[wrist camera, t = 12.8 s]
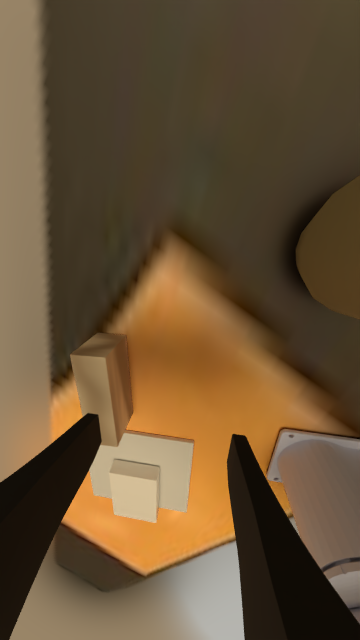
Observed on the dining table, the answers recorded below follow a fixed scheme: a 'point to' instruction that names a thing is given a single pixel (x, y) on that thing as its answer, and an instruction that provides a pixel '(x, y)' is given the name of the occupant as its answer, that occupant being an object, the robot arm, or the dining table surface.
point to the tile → (135, 490)
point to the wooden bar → (105, 383)
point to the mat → (149, 451)
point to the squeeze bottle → (334, 252)
